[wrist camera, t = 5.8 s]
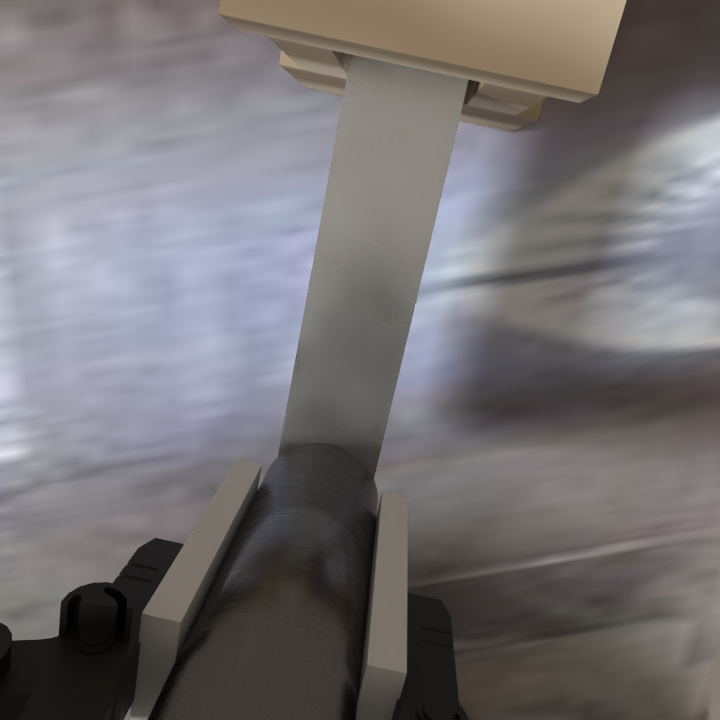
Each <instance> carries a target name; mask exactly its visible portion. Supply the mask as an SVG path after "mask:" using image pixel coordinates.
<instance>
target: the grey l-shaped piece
mask: <svg viewBox="0 0 720 720" xmlns="http://www.w3.org/2000/svg"><path fill="white" fill-rule="evenodd" d="M468 81H469V79H464V78H459V77H455V76H450V75H445V74H440V73H436V72H431V71H426V70H422V69H417V68H412V67H408V66H403V65H398V64H394V63H389V62H384V61H379V60H375V59H370V58H365V57H361V56H356V55H351V57H350V63H349V68H348V74H347V79H346V85H345V90H344V96H343V101H342V107H341V112H340V118H339V123H338V129H337V134H336V140H335V145H334V151H333V156H332V162H331V167H330V173H329V178H328V184H327V189H326V195H325V200H324V206H323V211H322V217H321V222H320V228H319V233H318V239H317V244H316V250H315V255H314V261H313V266H312V272H311V277H310V283H309V288H308V294H307V299H306V305H305V310H304V316H303V321H302V327H301V332H300V338H299V343H298V349H297V354H296V360H295V365H294V371H293V376H292V382H291V387H290V393H289V398H288V404H287V409H286V415H285V420H284V426H283V431H282V437H281V442H280V448H279V453H278V458H277V459H276V460H275V461H274V462H273V463H272V464H271V466H270V467H269V469H268V471H267V473H266V475H265V477H264V479H263V481H262V483H261V485H260V487H259V489H258V491H257V494H256V496H255V498H254V500H253V502H252V504H251V506H250V508H249V510H248V512H247V514H246V516H245V518H244V520H243V523H242V525H241V527H240V529H239V531H238V533H237V535H236V537H235V539H234V541H233V543H232V545H231V547H230V549H229V552H228V554H227V556H226V558H225V560H224V562H223V564H222V566H221V568H220V570H219V572H218V574H217V576H216V578H215V581H214V583H213V585H212V587H211V589H210V591H209V593H208V595H207V597H206V599H205V601H204V603H203V605H202V607H201V610H200V612H199V614H198V616H197V618H196V620H195V622H194V624H193V626H192V628H191V630H190V632H189V634H188V636H187V638H186V641H185V643H184V645H183V647H182V649H181V651H180V653H179V655H178V657H177V659H176V661H175V663H174V665H173V667H172V670H171V672H170V674H169V676H168V678H167V680H166V682H165V684H164V686H163V688H162V690H161V692H160V694H159V696H158V699H157V701H156V703H155V705H154V707H153V709H152V711H151V713H150V715H149V717H148V719H147V720H356V712H357V700H358V690H359V680H360V671H361V661H362V651H363V641H364V631H365V621H366V611H367V601H368V591H369V581H370V571H371V561H372V551H373V542H374V532H375V522H376V513H377V503H378V494H377V488H376V484H375V481H374V475H375V471H376V467H377V463H378V459H379V454H380V450H381V446H382V442H383V438H384V433H385V429H386V425H387V421H388V417H389V412H390V408H391V404H392V400H393V396H394V391H395V387H396V383H397V379H398V375H399V370H400V366H401V362H402V358H403V354H404V349H405V345H406V341H407V337H408V333H409V328H410V324H411V320H412V316H413V312H414V307H415V303H416V299H417V295H418V291H419V286H420V282H421V278H422V274H423V270H424V265H425V261H426V257H427V253H428V249H429V244H430V240H431V236H432V232H433V228H434V223H435V219H436V215H437V211H438V207H439V202H440V198H441V194H442V190H443V186H444V181H445V177H446V173H447V169H448V165H449V160H450V156H451V152H452V148H453V144H454V140H455V135H456V131H457V127H458V123H459V119H460V114H461V110H462V106H463V102H464V98H465V93H466V89H467V85H468Z"/></svg>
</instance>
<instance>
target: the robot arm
mask: <svg viewBox="0 0 720 720" xmlns="http://www.w3.org/2000/svg"><path fill="white" fill-rule="evenodd" d="M261 467H262V465H260V464H256V463H251V462H247V461H242V460H238V459H236V461H235V462H234V464H233V466H232V467H231V469H230V471H229V472H228V474H227V475H226V477H225V479H224V480H223V482H222V484H221V485H220V487H219V489H218V490H217V492H216V493H215V495H214V497H213V498H212V500H211V502H210V503H209V505H208V506H207V508H206V510H205V511H204V513H203V515H202V516H201V518H200V519H199V521H198V523H197V524H196V526H195V528H194V529H193V531H192V532H191V534H190V536H189V537H188V539H187V541H186V542H185V544H180V543H176V542H171V541H167V540H162V539H158V538H154V539H153V540H151V541H149V542H148V543H146V544H144V545H143V546H141V547H140V548H138V549H137V551H136V552H135V553H134V555H133V556H132V558H131V559H130V560H129V562H128V564H127V565H126V566H125V567H124V568H123V570H122V571H121V573H120V575H119V577H117V578H116V579H115V581H114V582H113V584H112V583H108V582H104V583H91V584H88V585H84V586H80V587H78V588H77V589H75V590H73V591H72V592H70V593H68V595H67V596H66V597H65V598H64V599H63V600H62V602H61V611H60V626H59V636H57V637H54V638H49V639H41V640H18V641H12V633H11V632H10V630H9V629H8V627H7V626H6V625H4V624H2V623H0V720H124V718H125V716H126V714H127V712H128V710H129V708H130V706H131V713H130V720H147V719H148V717H149V715H150V713H151V711H152V709H153V707H154V705H155V703H156V701H157V699H158V696H159V694H160V692H161V690H162V688H163V686H164V684H165V682H166V680H167V678H168V676H169V674H170V672H171V670H172V667H173V665H174V663H175V661H176V659H177V657H178V655H179V653H180V651H181V649H182V647H183V645H184V643H185V641H186V638H187V636H188V634H189V632H190V630H191V628H192V626H193V624H194V622H195V620H196V618H197V616H198V614H199V612H200V610H201V607H202V605H203V603H204V601H205V599H206V597H207V595H208V593H209V591H210V589H211V587H212V585H213V583H214V581H215V578H216V576H217V574H218V572H219V570H220V568H221V566H222V564H223V562H224V560H225V558H226V556H227V554H228V552H229V549H230V547H231V545H232V543H233V541H234V539H235V537H236V535H237V533H238V531H239V529H240V527H241V525H242V523H243V520H244V518H245V516H246V514H247V512H248V510H249V508H250V506H251V504H252V502H253V500H254V498H255V496H256V494H257V490H258V484H259V478H260V473H261ZM407 566H408V497H405V496H401V495H396V494H392V493H387V492H383V491H382V495H381V499H380V504H379V508H378V512H377V516H376V522H375V532H374V542H373V551H372V561H371V571H370V581H369V591H368V601H367V611H366V621H365V631H364V641H363V651H362V661H361V671H360V680H359V690H358V700H357V712H356V720H468V717H467V715H466V714H465V712H464V710H463V708H462V707H461V706H460V705H459V700H458V691H457V680H456V669H455V658H454V650H453V637H452V626H451V616H450V615H449V613H448V611H447V610H446V608H445V606H444V605H443V603H442V601H441V600H437V599H433V598H428V597H424V596H419V595H415V594H410V593H407Z"/></svg>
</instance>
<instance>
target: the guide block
mask: <svg viewBox="0 0 720 720" xmlns="http://www.w3.org/2000/svg"><path fill="white" fill-rule="evenodd" d="M626 1H627V0H220V7H219V15H220V16H222V17H223V18H224V19H225V20H226V21H228V22H229V23H230V24H231V25H232V26H234V27H235V28H236V29H237V30H239V31H243V32H248V33H253V34H258V35H262V36H267V37H269V38H270V39H271V40H272V41H273V42H274V43H275V44H276V45H277V46H278V47H279V48H280V49H281V57H280V63H279V65H280V66H281V67H282V68H284V69H285V70H286V71H287V72H288V73H290V74H291V75H292V76H293V77H294V78H296V79H297V80H298V81H299V82H300V83H302V84H303V85H304V86H305V87H306V88H309V89H313V90H318V91H323V92H327V93H332V94H337V95H341V96H344V90H345V85H346V79H347V74H348V68H349V63H350V57H351V55H356V56H361V57H365V58H370V59H375V60H379V61H384V62H389V63H394V64H398V65H403V66H408V67H412V68H417V69H422V70H426V71H431V72H436V73H440V74H445V75H450V76H455V77H459V78H464V79H469V81H468V85H467V89H466V93H465V98H464V102H463V106H462V110H461V114H460V119H459V121H463V122H467V123H472V124H477V125H481V126H486V127H491V128H495V129H500V130H505V131H509V132H512V131H514V130H517V129H519V128H521V127H524V126H526V125H528V124H531V123H533V122H536V121H538V120H539V117H540V113H541V109H542V106H543V102H544V99H546V98H547V97H553V98H558V99H562V100H567V101H572V102H576V103H580V102H582V101H585V100H587V99H590V98H592V97H594V96H597V95H598V94H599V91H600V87H601V84H602V81H603V77H604V74H605V71H606V67H607V64H608V61H609V57H610V54H611V51H612V47H613V44H614V41H615V37H616V34H617V31H618V27H619V24H620V21H621V17H622V14H623V11H624V7H625V4H626Z"/></svg>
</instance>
